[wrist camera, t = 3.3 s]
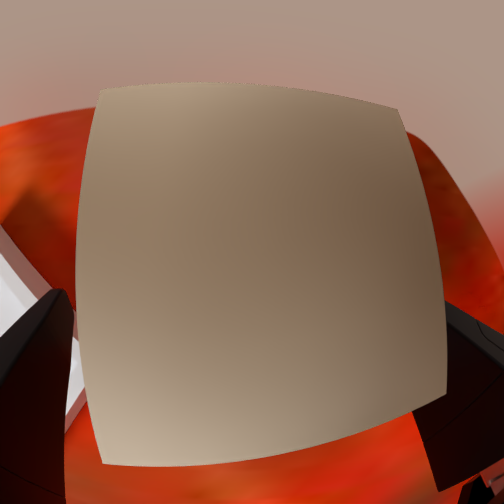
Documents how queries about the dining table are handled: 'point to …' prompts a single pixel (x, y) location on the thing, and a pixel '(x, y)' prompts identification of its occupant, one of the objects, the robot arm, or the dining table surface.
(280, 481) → the dining table surface
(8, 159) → the dining table surface
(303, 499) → the dining table surface
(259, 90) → the birch block
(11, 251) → the box
